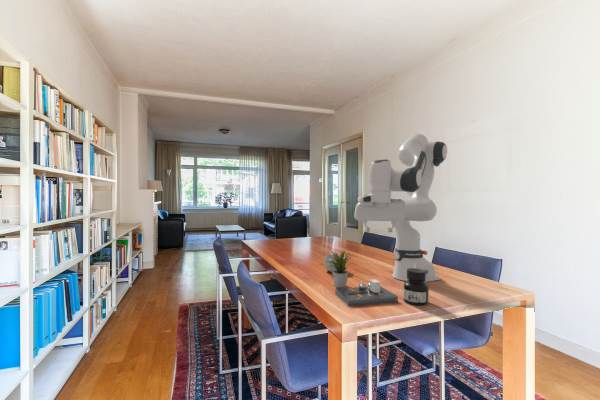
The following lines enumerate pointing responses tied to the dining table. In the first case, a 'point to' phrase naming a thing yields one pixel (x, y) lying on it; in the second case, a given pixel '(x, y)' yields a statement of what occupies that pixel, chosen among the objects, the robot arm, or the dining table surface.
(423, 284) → the ink bottle
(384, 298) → the console
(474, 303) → the dining table surface
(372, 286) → the fader cap
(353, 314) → the dining table surface
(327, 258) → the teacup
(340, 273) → the house plant
